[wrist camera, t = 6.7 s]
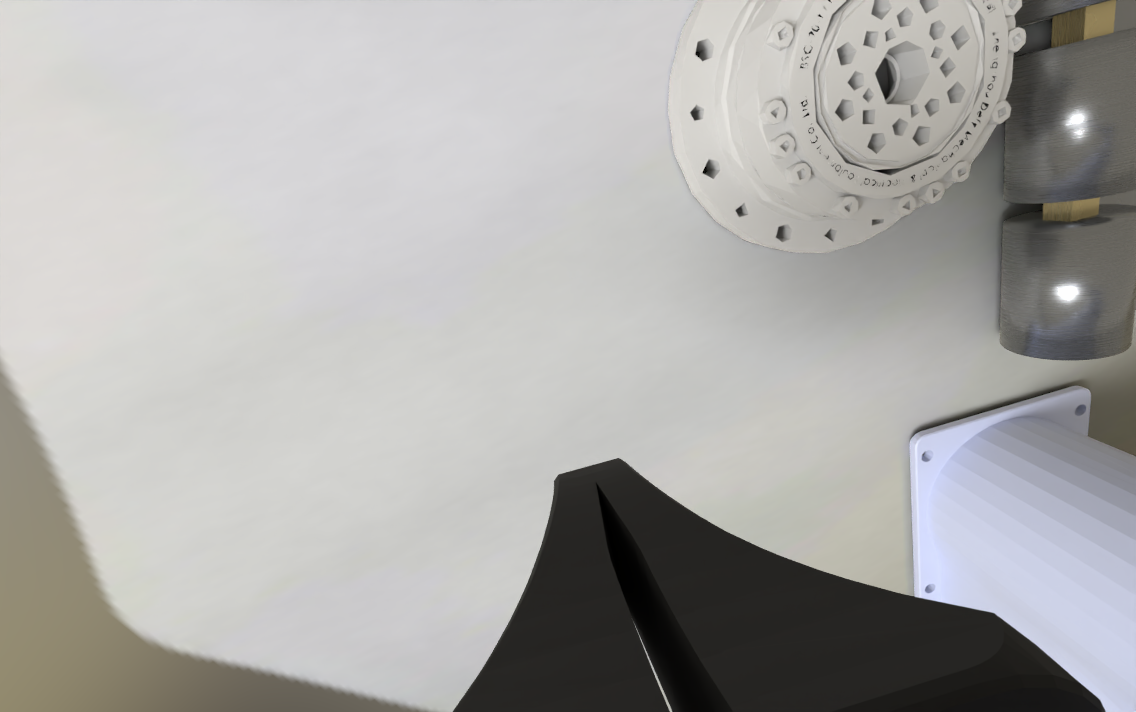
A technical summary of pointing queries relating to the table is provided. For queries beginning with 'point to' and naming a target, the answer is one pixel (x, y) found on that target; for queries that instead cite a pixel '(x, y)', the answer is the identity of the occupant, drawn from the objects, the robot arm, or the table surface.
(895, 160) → the mechanical component
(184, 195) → the table surface
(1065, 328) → the hinge leaf
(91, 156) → the table surface
